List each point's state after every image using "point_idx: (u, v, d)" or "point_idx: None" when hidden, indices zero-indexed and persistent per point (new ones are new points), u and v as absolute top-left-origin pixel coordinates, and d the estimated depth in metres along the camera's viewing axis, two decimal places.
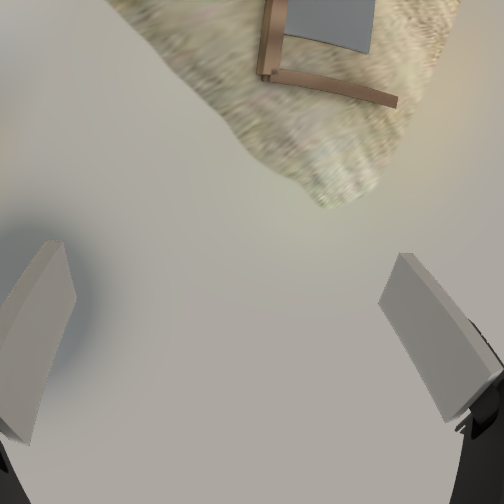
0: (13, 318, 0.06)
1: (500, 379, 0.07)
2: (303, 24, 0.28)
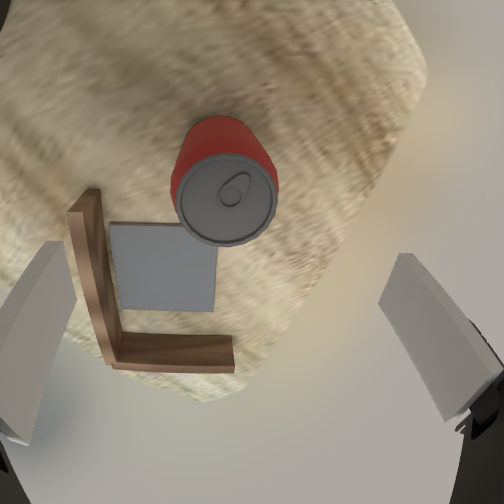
0: (13, 318, 0.06)
1: (500, 379, 0.07)
2: (138, 299, 0.33)
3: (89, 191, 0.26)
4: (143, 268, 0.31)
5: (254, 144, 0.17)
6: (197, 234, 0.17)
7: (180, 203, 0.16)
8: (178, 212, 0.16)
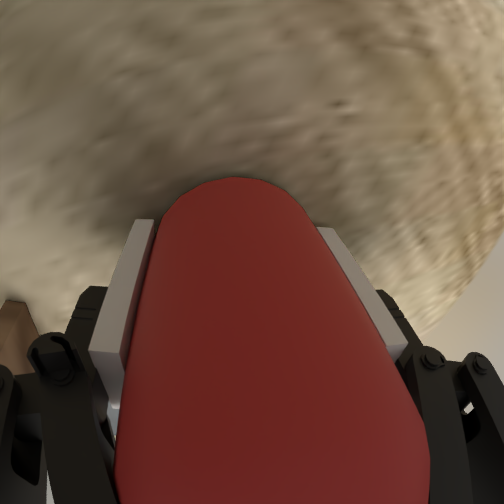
0: (132, 283, 0.08)
1: (411, 356, 0.08)
2: (116, 428, 0.20)
3: (9, 306, 0.13)
4: None
5: (402, 424, 0.04)
6: None
7: None
8: None
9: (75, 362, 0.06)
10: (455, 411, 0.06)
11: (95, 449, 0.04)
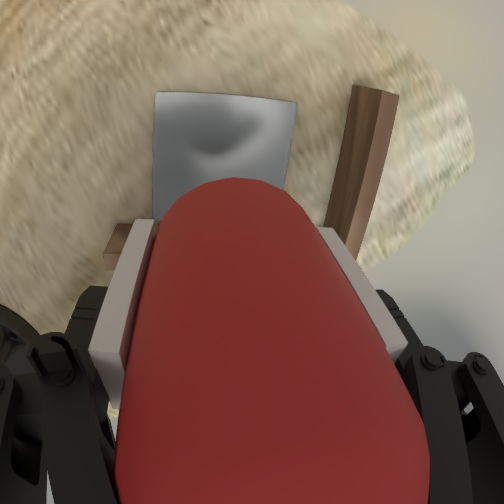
0: (132, 283, 0.08)
1: (411, 356, 0.08)
2: None
3: None
4: None
5: (402, 424, 0.04)
6: None
7: None
8: None
9: (75, 362, 0.06)
10: (455, 411, 0.06)
11: (95, 449, 0.04)
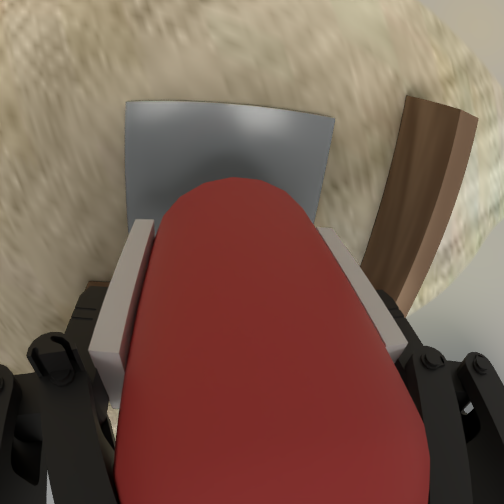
0: (132, 283, 0.08)
1: (411, 356, 0.08)
2: None
3: None
4: None
5: (402, 424, 0.04)
6: None
7: None
8: None
9: (75, 362, 0.06)
10: (455, 411, 0.06)
11: (95, 449, 0.04)
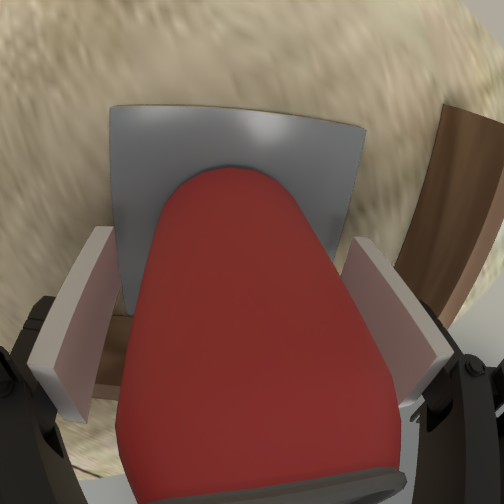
0: (78, 295, 0.07)
1: (454, 364, 0.07)
2: None
3: None
4: None
5: (366, 367, 0.05)
6: None
7: None
8: None
9: (14, 373, 0.05)
10: (492, 415, 0.05)
11: (36, 456, 0.04)
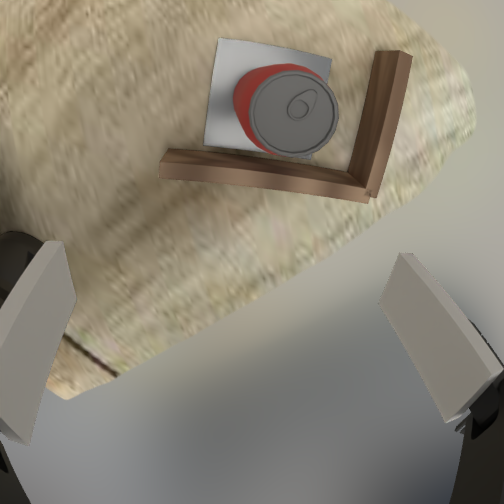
0: (13, 318, 0.06)
1: (500, 379, 0.07)
2: None
3: None
4: None
5: (317, 74, 0.18)
6: (265, 141, 0.18)
7: (253, 110, 0.17)
8: (250, 117, 0.17)
9: None
10: None
11: None
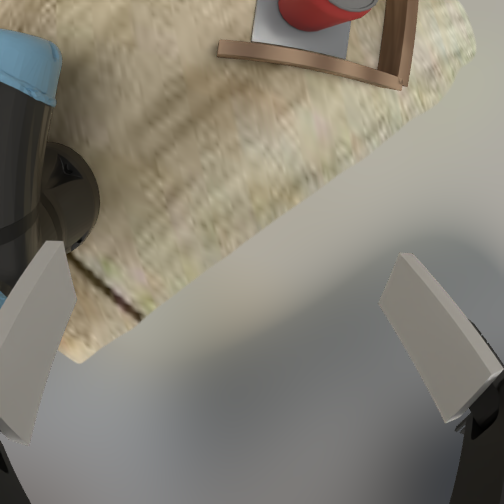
0: (13, 318, 0.06)
1: (500, 379, 0.07)
2: (335, 38, 0.28)
3: (217, 52, 0.28)
4: None
5: None
6: None
7: None
8: None
9: None
10: None
11: None
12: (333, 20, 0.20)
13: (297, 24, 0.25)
